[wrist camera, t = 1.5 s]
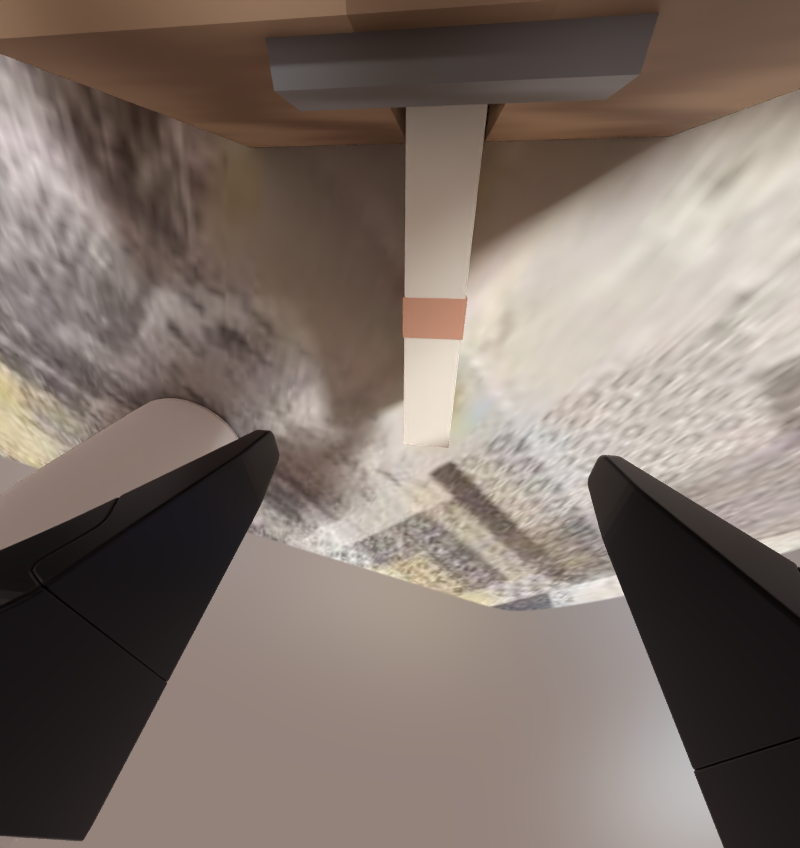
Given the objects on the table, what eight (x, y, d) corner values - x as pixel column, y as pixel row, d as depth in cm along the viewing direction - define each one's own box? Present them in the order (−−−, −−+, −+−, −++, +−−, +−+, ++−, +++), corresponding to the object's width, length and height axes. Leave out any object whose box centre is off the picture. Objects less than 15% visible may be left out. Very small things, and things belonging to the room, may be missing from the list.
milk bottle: (130, 381, 20) (-1304, 1123, 4) (244, 410, 20) (-608, 1231, 4) (157, 463, 24) (-430, 966, 8) (250, 487, 25) (-133, 1021, 8)
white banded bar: (501, -169, 8) (600, -832, 3) (447, 380, 17) (449, 448, 12) (429, -160, 8) (407, -770, 3) (414, 379, 17) (401, 445, 12)
